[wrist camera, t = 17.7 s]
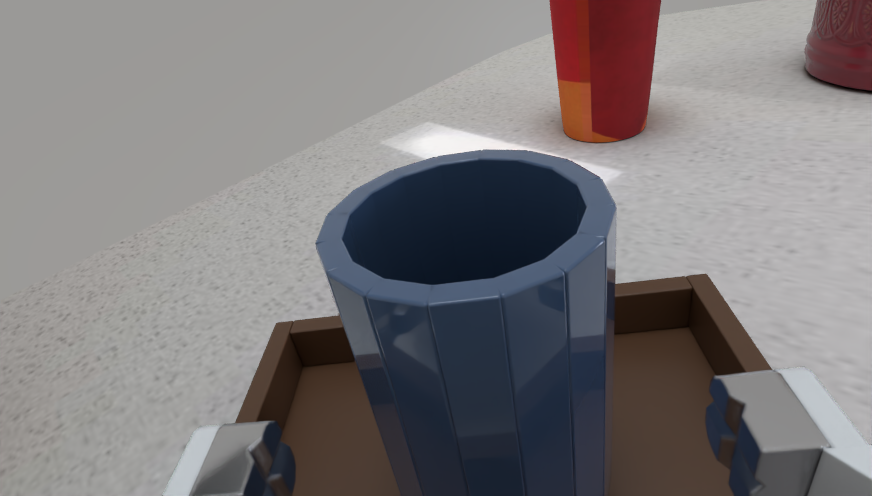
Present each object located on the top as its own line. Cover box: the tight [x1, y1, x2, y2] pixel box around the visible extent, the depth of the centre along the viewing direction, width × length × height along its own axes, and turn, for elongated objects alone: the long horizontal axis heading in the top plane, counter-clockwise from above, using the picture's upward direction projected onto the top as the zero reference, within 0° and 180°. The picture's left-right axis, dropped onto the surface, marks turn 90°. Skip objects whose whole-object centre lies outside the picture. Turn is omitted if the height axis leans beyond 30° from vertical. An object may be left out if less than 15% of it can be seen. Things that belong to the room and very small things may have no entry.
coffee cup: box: [550, 0, 661, 142], centre depth 37 cm, size 8×8×15 cm
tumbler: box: [316, 150, 617, 496], centre depth 14 cm, size 6×6×10 cm
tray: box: [235, 274, 772, 496], centre depth 17 cm, size 18×14×2 cm
